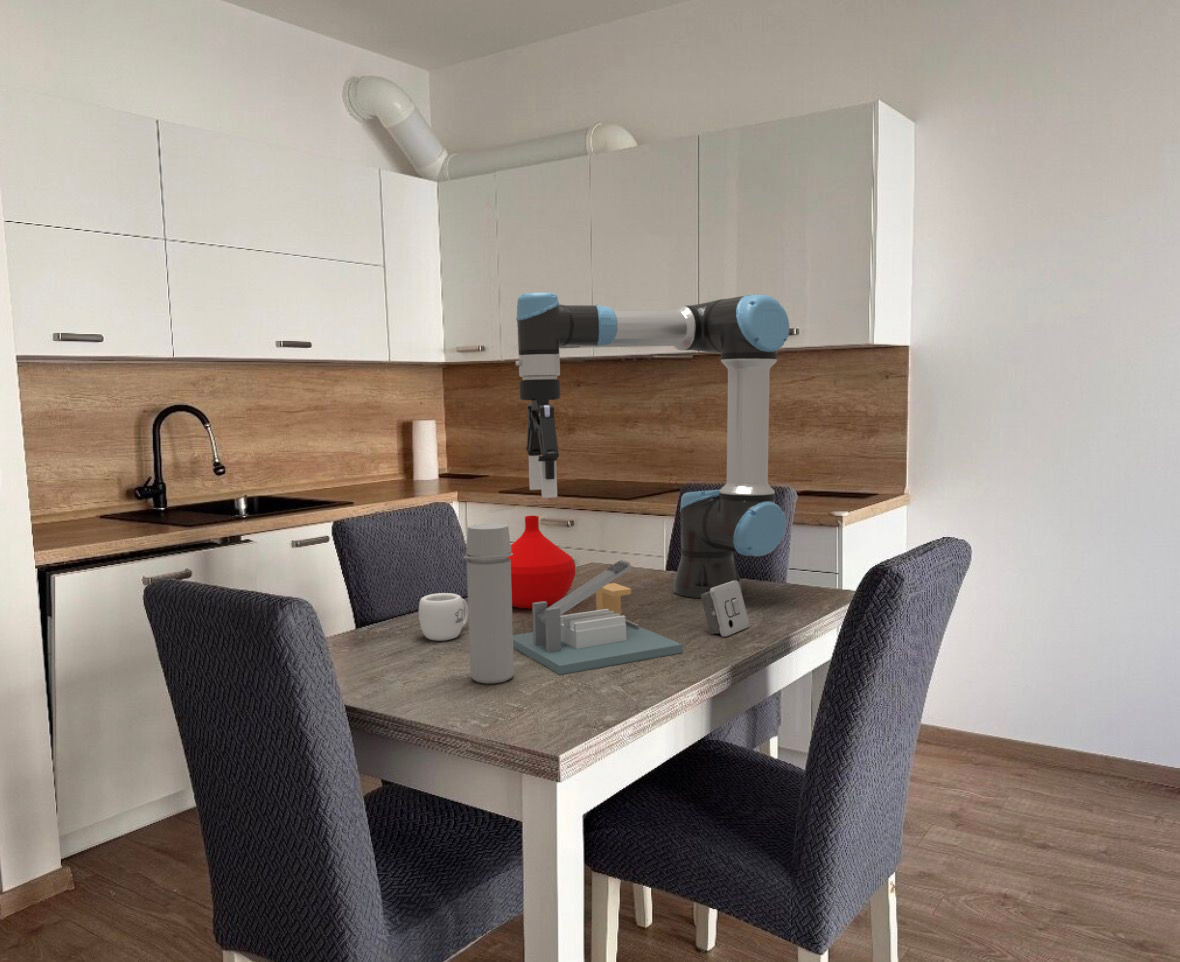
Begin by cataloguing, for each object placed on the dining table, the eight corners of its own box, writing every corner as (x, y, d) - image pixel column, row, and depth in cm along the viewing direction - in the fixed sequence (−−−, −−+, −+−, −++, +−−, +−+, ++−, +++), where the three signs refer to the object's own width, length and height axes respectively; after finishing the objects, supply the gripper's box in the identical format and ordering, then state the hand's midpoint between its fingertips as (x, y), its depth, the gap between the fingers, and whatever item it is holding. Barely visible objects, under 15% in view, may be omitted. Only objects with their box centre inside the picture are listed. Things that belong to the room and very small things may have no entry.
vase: (585, 609, 202) (583, 519, 200) (498, 616, 198) (495, 524, 196) (565, 592, 220) (563, 509, 218) (486, 598, 215) (483, 513, 214)
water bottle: (521, 682, 154) (516, 527, 151) (472, 687, 152) (466, 531, 149) (509, 666, 163) (504, 520, 160) (463, 671, 160) (457, 523, 158)
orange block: (614, 621, 185) (614, 582, 185) (631, 628, 180) (631, 588, 179) (596, 624, 184) (595, 585, 183) (613, 631, 178) (612, 591, 177)
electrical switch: (725, 638, 177) (721, 588, 177) (701, 637, 181) (697, 588, 180) (750, 628, 185) (746, 580, 184) (727, 626, 188) (723, 579, 188)
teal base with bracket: (619, 626, 188) (619, 580, 187) (682, 652, 169) (681, 602, 168) (506, 644, 177) (505, 595, 176) (559, 674, 157) (558, 620, 156)
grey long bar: (623, 565, 176) (620, 559, 176) (631, 567, 173) (629, 562, 173) (539, 620, 169) (536, 615, 168) (546, 624, 166) (544, 618, 166)
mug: (444, 645, 177) (443, 603, 176) (410, 640, 181) (408, 599, 180) (485, 630, 187) (484, 591, 186) (451, 625, 191) (450, 587, 190)
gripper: (509, 379, 188) (513, 487, 190) (530, 378, 163) (534, 502, 166) (547, 378, 189) (550, 485, 192) (573, 377, 165) (576, 499, 167)
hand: (542, 493), depth 179 cm, fingers open, 13 cm apart
